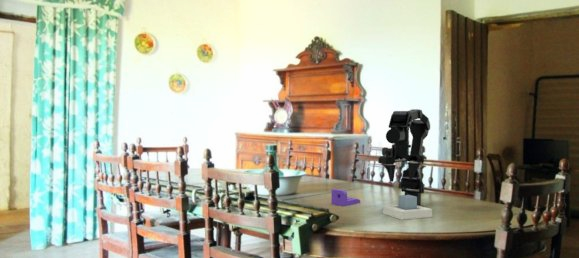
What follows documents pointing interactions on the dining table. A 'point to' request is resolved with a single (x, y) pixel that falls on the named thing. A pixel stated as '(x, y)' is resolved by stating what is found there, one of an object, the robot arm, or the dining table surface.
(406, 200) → the block
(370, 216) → the dining table surface
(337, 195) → the bracket
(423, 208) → the well
